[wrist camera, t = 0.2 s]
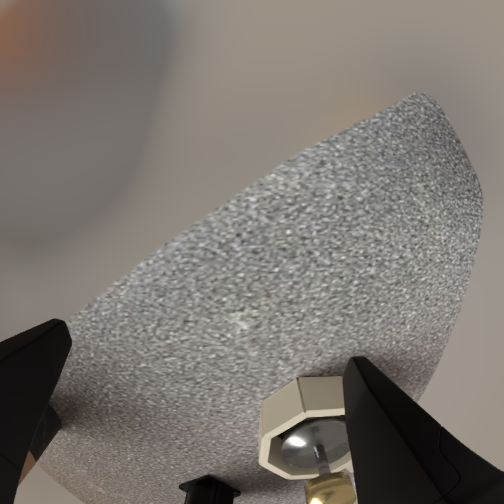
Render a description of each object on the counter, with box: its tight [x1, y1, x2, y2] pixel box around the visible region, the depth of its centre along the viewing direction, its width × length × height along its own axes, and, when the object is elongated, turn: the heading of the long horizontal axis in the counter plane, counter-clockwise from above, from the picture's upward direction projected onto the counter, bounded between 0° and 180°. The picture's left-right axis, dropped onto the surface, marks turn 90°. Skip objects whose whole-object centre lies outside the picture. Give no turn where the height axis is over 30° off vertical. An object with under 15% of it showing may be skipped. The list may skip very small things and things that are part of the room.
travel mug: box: [18, 404, 61, 486], centre depth 17 cm, size 8×8×20 cm
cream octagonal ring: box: [259, 376, 353, 480], centre depth 23 cm, size 11×13×5 cm
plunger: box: [281, 417, 356, 504], centre depth 17 cm, size 7×7×8 cm
